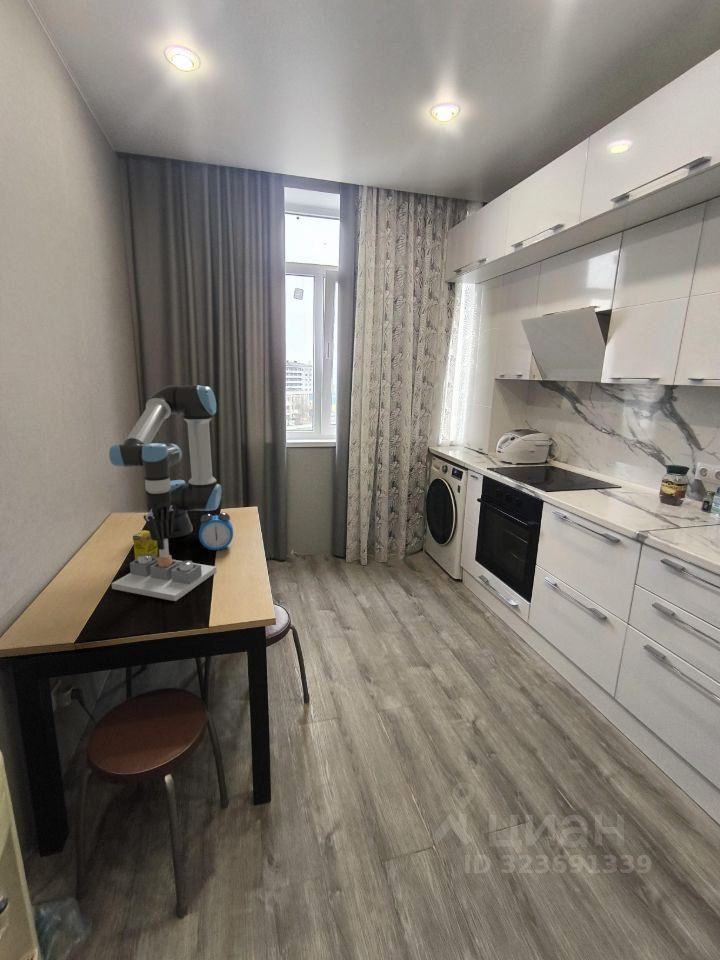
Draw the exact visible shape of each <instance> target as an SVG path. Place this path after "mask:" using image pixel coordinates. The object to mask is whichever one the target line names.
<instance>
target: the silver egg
mask: <svg viewBox="0 0 720 960" xmlns="http://www.w3.org/2000/svg"><path fill="white" fill-rule="evenodd" d="M181 561H182V562H180V563H179V571H185V572H189V571H190V570H192V569H193V563H194V562H193V561H192V560H181Z"/></svg>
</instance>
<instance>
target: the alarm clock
mask: <svg viewBox="0 0 720 960" xmlns="http://www.w3.org/2000/svg"><path fill="white" fill-rule="evenodd" d="M200 523H201V524H200V527H199V532H198V539H199V542H200V543H201V545H202V546H203V547H204V548H206V549H208V551H210V550H212V551H220V550H224V549H225V550H227V547H228V546H229V545H230V544H231V542H232V541H233V538H234V527H233V524H232V523H231V517H230V515H229V513H227V512H220V513H219V514H218V515H217V514H213V515H212V514H211V513H203V515H202V516H201V517H200Z"/></svg>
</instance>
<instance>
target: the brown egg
mask: <svg viewBox="0 0 720 960" xmlns="http://www.w3.org/2000/svg"><path fill="white" fill-rule="evenodd" d="M172 560H173V558H172V555H171V554H169V557H168V558H162V557H160V555H158V567H162V568H168V567H169V566H171V565H172Z"/></svg>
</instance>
